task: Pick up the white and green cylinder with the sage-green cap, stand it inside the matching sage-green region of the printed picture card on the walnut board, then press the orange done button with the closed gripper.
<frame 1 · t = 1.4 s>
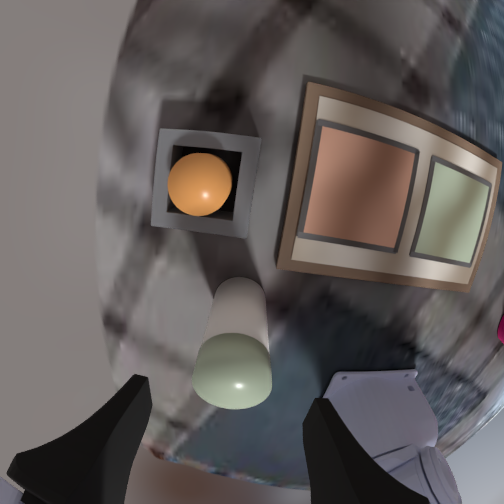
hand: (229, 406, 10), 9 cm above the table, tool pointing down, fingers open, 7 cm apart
done button: (201, 182, 14), point 3 cm above the table, slide at 0.0 cm
picture board: (413, 203, 17), on the table
button housing: (209, 179, 16), on the table
white and green cylinder: (240, 300, 19), on the table
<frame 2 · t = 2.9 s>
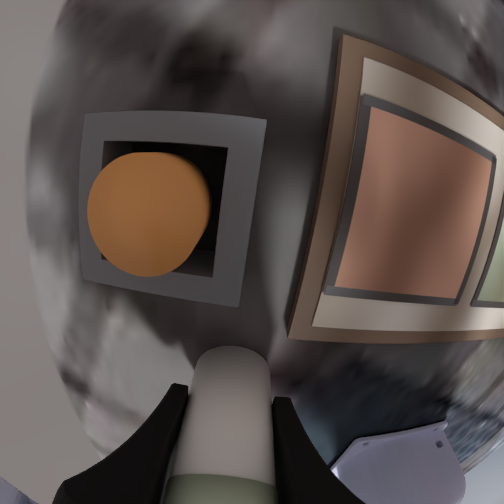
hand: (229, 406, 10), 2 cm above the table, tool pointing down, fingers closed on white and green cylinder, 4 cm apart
done button: (151, 210, 7), point 2 cm above the table, slide at 0.0 cm
picture board: (481, 231, 10), on the table
button housing: (175, 196, 10), on the table
white and green cylinder: (232, 373, 12), on the table, touching gripper
when the fingers open (4 cm above the table, at t = 6.8 s): white and green cylinder stays where it is, resting on picture board.
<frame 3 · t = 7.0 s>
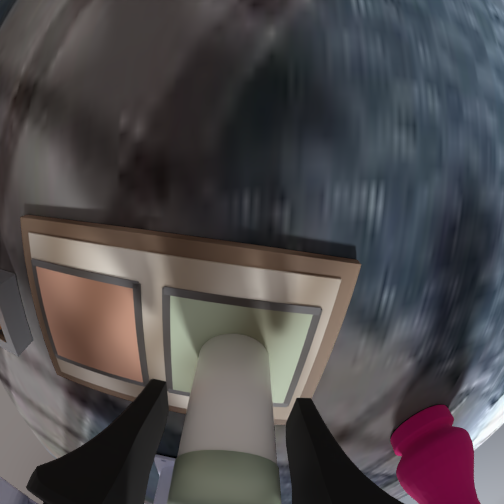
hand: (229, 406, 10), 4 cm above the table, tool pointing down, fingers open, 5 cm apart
pepper mill: (418, 423, 18), on the table
picture board: (162, 338, 14), on the table
button housing: (2, 300, 14), on the table
white and green cylinder: (233, 360, 13), point 1 cm above the table, touching picture board
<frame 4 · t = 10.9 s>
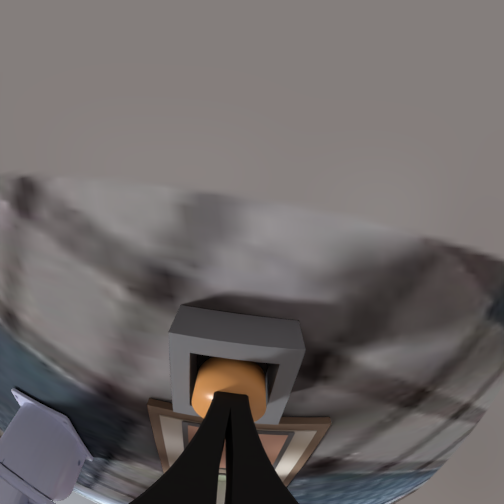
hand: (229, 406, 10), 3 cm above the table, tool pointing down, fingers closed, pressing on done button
done button: (230, 392, 11), point 2 cm above the table, slide at 0.0 cm, touching gripper
picture board: (229, 466, 18), on the table
button housing: (233, 357, 13), on the table
white and green cylinder: (224, 486, 19), point 1 cm above the table, touching picture board
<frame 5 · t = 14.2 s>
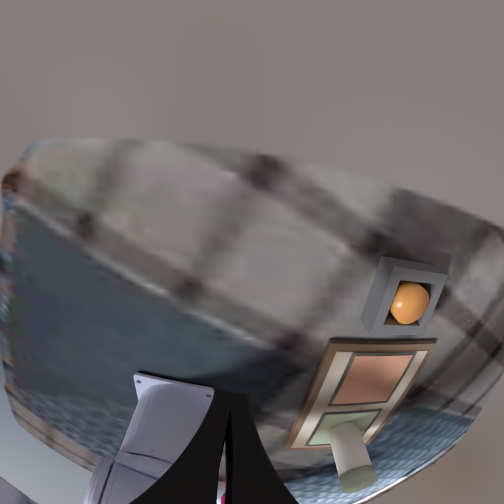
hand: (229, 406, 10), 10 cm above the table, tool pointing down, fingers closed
done button: (407, 300, 19), point 2 cm above the table, slide at 0.9 cm
picture board: (354, 404, 25), on the table
button housing: (399, 291, 20), on the table
white and green cylinder: (342, 430, 25), point 1 cm above the table, touching picture board
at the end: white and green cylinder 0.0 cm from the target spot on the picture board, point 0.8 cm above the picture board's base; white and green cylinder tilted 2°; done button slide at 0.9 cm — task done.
